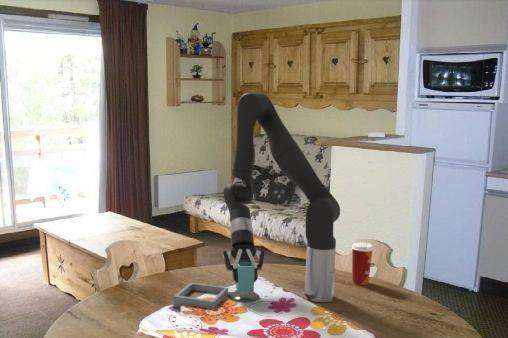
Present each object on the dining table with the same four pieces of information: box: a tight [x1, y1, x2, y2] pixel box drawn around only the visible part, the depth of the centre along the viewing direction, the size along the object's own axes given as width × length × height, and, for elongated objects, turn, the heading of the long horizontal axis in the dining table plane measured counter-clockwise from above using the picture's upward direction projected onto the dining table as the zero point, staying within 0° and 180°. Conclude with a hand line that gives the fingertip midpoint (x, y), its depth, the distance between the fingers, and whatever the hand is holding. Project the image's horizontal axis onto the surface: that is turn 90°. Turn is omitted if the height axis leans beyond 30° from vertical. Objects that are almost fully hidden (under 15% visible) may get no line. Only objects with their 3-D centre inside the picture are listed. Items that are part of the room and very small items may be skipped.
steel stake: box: [227, 290, 261, 304], centre depth 160 cm, size 10×10×6 cm
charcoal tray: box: [173, 282, 229, 310], centre depth 158 cm, size 13×13×4 cm
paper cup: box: [351, 241, 374, 286], centre depth 181 cm, size 8×8×14 cm
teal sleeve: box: [235, 262, 255, 293], centre depth 160 cm, size 5×5×8 cm
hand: (245, 281), depth 158 cm, fingers closed on teal sleeve, 5 cm apart
